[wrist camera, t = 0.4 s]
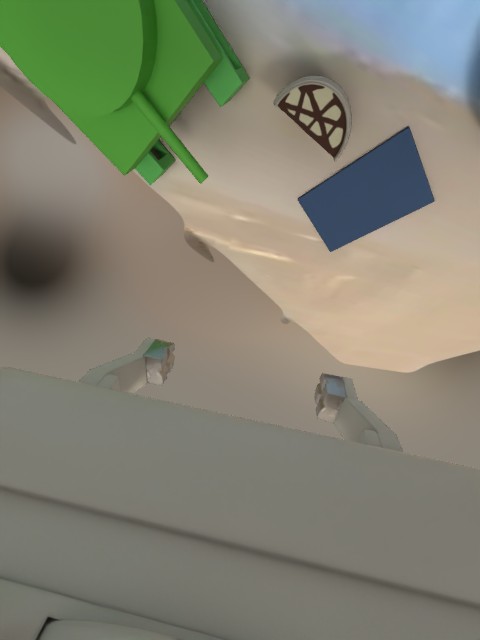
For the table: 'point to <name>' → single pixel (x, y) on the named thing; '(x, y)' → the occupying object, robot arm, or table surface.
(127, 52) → the tank
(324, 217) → the mat
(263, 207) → the table surface
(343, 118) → the food container
